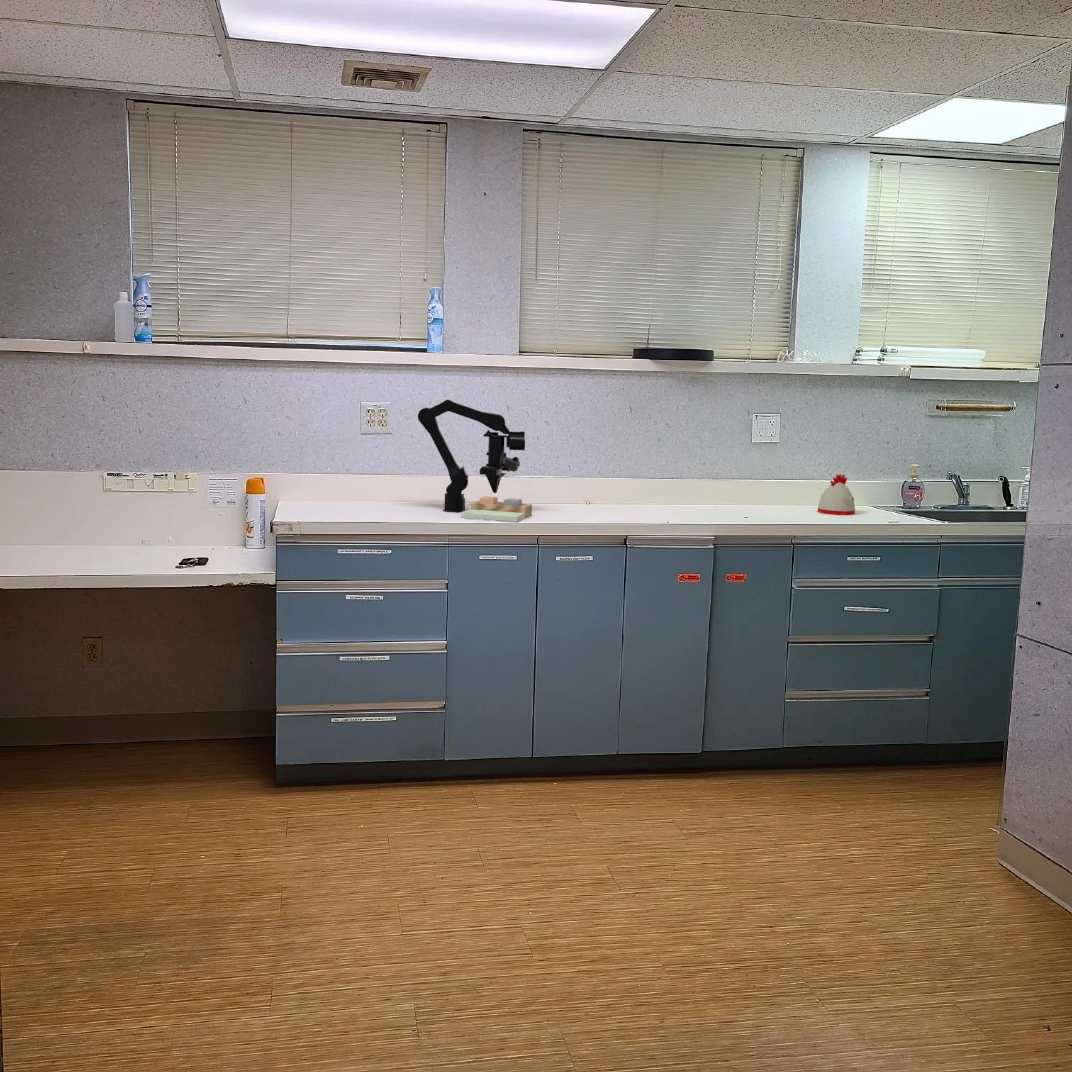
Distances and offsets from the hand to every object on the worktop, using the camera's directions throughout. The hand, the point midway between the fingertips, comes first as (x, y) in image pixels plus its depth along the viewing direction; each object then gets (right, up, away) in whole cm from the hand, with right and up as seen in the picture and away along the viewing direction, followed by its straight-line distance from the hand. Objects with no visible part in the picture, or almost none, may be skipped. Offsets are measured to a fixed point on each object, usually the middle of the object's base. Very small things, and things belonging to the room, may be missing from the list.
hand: (494, 492), depth 387 cm
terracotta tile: (-2, -4, -7) cm, 8 cm away
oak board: (+2, -8, -7) cm, 11 cm away
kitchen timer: (+131, -7, +30) cm, 135 cm away
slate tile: (+7, -5, -9) cm, 12 cm away
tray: (0, -10, -16) cm, 18 cm away
